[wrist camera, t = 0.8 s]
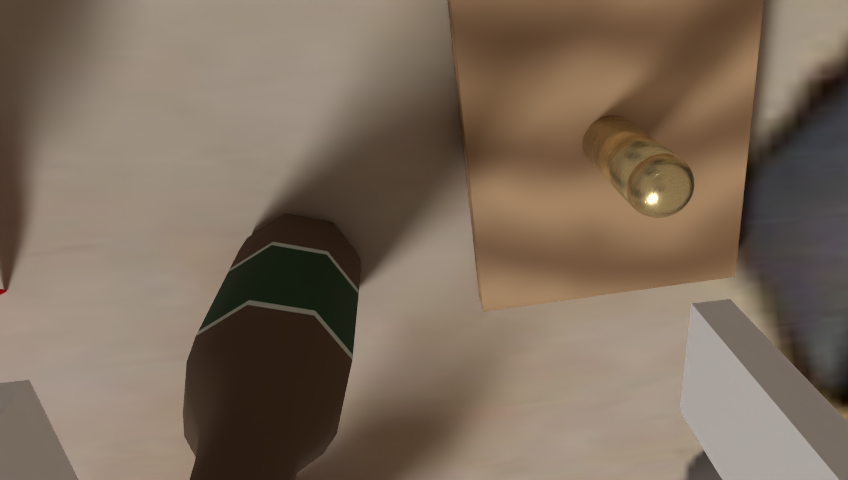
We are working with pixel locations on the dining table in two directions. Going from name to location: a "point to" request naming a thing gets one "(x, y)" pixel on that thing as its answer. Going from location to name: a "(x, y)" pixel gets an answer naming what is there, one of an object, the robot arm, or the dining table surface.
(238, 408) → the beer bottle
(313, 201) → the dining table surface
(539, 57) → the board
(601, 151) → the post
